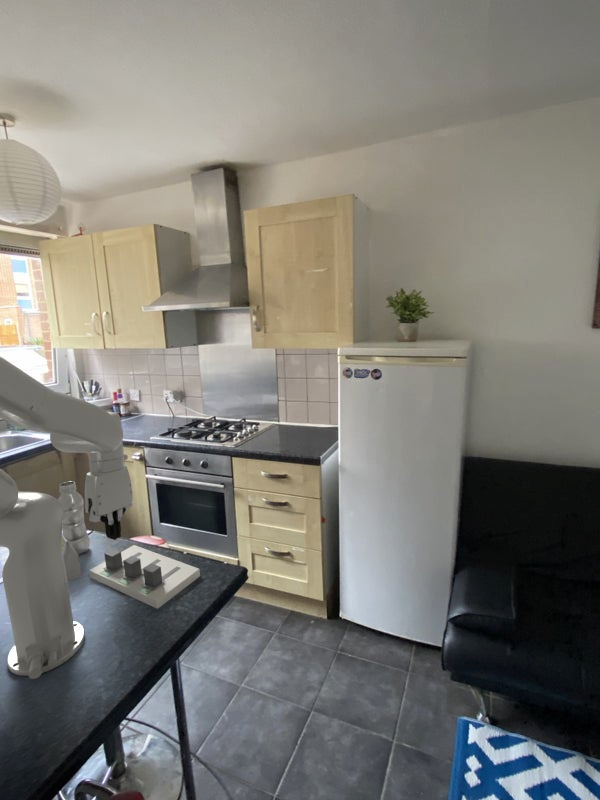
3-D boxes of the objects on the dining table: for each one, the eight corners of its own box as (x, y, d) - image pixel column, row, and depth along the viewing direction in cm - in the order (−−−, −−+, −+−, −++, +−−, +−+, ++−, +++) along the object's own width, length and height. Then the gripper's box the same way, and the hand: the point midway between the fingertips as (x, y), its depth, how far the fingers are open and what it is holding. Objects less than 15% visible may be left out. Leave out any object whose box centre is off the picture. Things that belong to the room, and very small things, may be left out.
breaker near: (165, 581, 94) (163, 565, 93) (152, 590, 91) (150, 574, 90) (154, 577, 96) (152, 561, 95) (141, 585, 93) (140, 569, 92)
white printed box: (74, 565, 106) (68, 529, 104) (81, 576, 101) (75, 539, 99) (58, 571, 104) (52, 534, 102) (64, 582, 99) (58, 545, 97)
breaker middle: (144, 573, 97) (143, 557, 97) (132, 581, 94) (130, 565, 94) (134, 569, 99) (133, 554, 98) (122, 577, 96) (120, 561, 95)
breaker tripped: (125, 565, 101) (123, 550, 100) (112, 573, 98) (110, 558, 97) (116, 561, 103) (114, 547, 102) (103, 569, 100) (101, 554, 99)
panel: (200, 576, 99) (199, 568, 99) (157, 608, 88) (156, 600, 88) (134, 551, 111) (134, 544, 111) (90, 577, 100) (89, 569, 100)
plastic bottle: (96, 548, 113) (87, 480, 110) (74, 561, 107) (63, 490, 104) (80, 544, 116) (70, 477, 112) (58, 556, 110) (47, 486, 106)
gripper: (124, 454, 105) (130, 522, 107) (66, 471, 92) (75, 547, 94) (144, 458, 101) (149, 528, 104) (86, 475, 88) (94, 555, 91)
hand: (113, 537), depth 99 cm, fingers closed
